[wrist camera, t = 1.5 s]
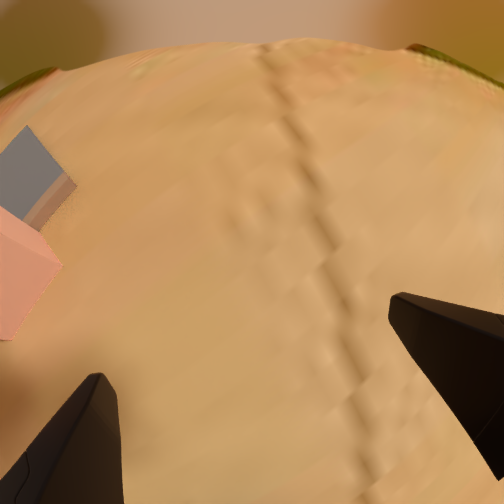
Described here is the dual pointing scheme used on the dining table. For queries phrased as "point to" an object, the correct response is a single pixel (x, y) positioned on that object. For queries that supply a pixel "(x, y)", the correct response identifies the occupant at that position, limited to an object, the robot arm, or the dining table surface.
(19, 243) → the terracotta block
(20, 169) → the mat
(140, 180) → the dining table surface
